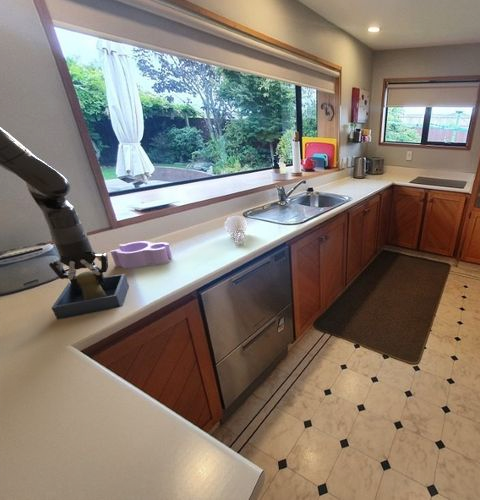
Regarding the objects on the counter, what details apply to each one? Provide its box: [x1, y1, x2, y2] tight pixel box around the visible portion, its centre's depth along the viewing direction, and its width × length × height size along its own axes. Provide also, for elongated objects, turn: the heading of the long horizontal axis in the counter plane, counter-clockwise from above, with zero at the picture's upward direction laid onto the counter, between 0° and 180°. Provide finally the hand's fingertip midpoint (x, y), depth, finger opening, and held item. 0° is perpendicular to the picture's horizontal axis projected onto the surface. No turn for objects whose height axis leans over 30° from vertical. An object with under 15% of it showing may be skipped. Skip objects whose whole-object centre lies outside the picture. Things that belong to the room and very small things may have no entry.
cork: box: [76, 270, 107, 301], centre depth 93 cm, size 6×6×11 cm
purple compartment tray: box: [110, 240, 173, 269], centre depth 122 cm, size 20×12×7 cm, turn 101°
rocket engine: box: [224, 214, 248, 247], centre depth 146 cm, size 12×12×18 cm
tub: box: [51, 273, 130, 321], centre depth 94 cm, size 16×16×6 cm
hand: (90, 285), depth 93 cm, fingers closed on cork, 5 cm apart
